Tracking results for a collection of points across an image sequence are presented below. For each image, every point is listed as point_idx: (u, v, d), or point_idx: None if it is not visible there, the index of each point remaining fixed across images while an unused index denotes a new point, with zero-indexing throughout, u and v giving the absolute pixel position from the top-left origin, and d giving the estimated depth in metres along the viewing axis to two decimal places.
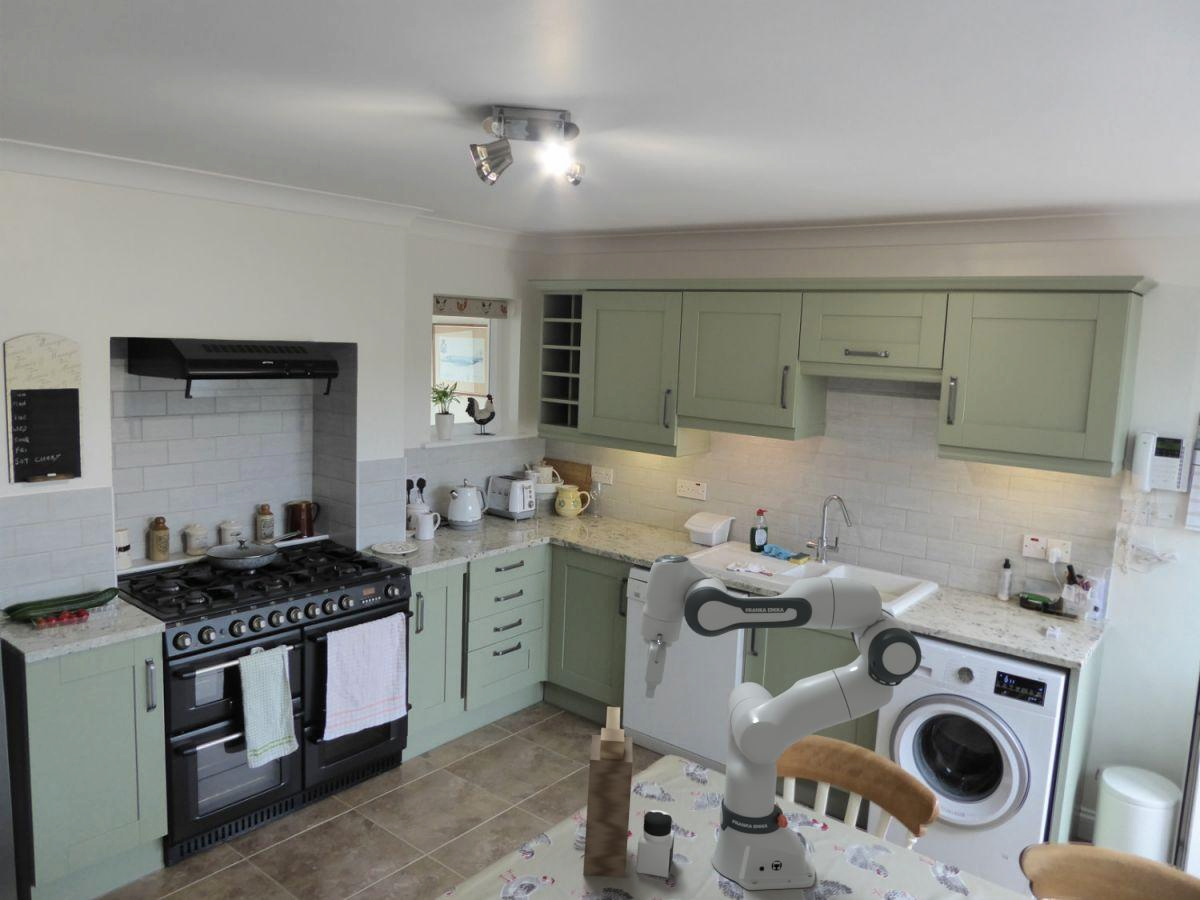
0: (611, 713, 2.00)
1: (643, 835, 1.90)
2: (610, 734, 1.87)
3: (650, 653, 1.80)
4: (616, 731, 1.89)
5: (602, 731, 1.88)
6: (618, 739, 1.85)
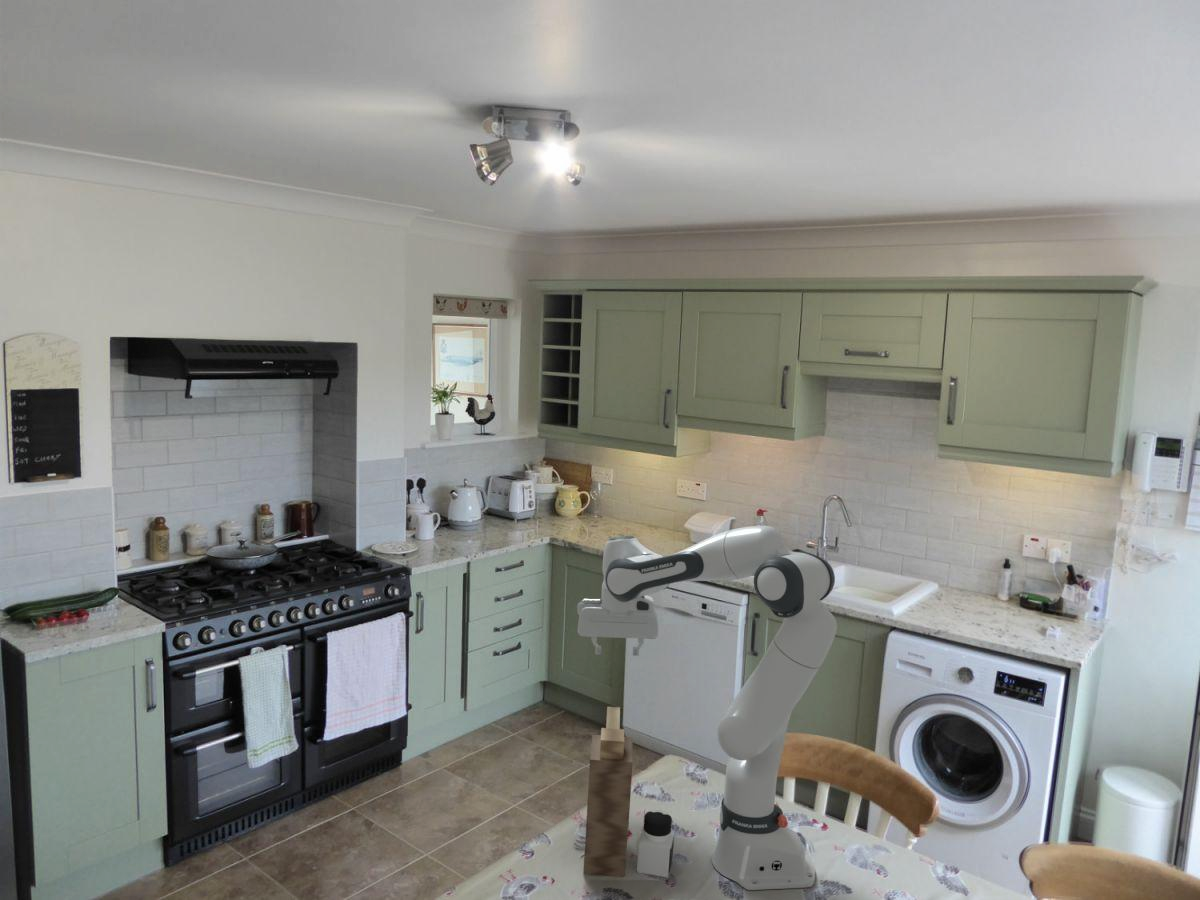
0: (611, 713, 2.00)
1: (643, 835, 1.90)
2: (610, 734, 1.87)
3: None
4: (616, 731, 1.89)
5: (602, 731, 1.88)
6: (618, 739, 1.85)
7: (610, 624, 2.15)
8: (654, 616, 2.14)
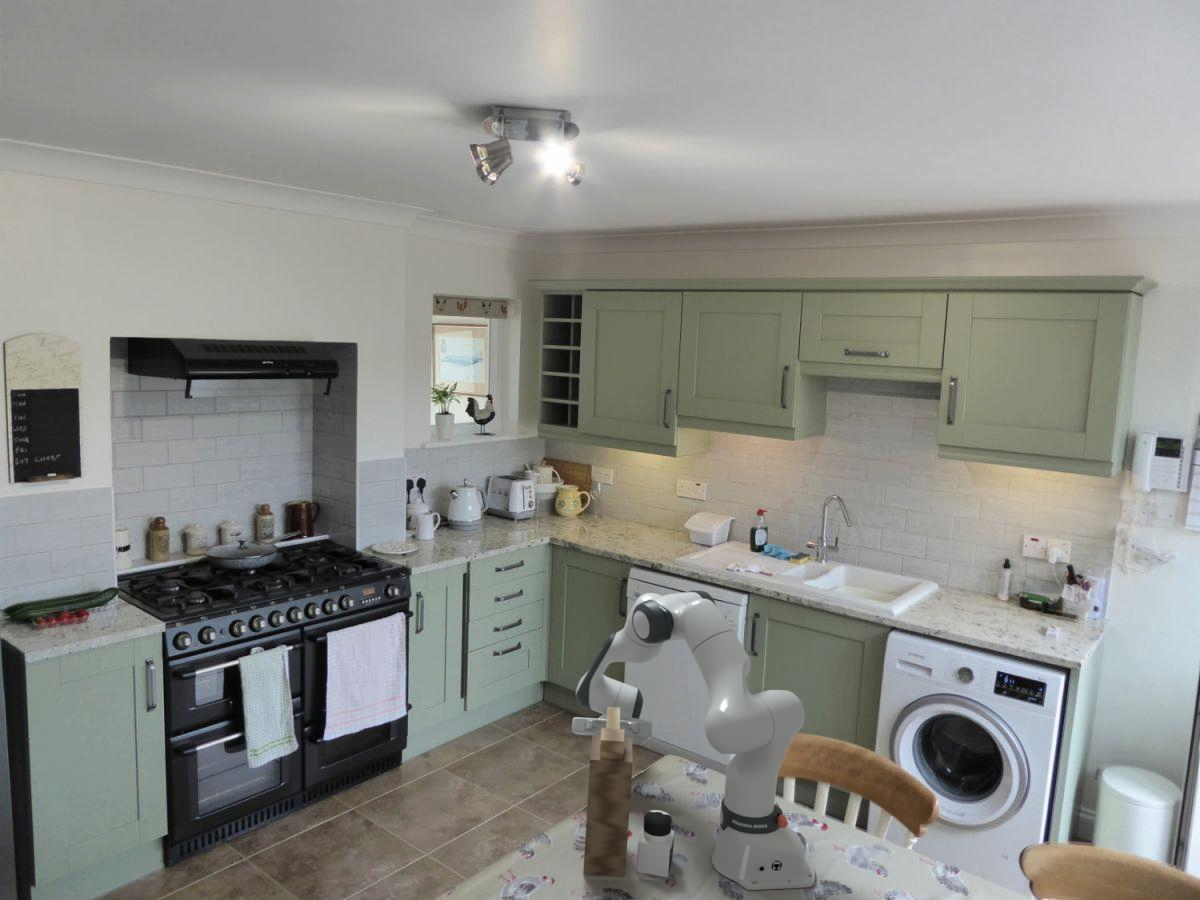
0: (611, 713, 2.00)
1: (643, 835, 1.90)
2: (610, 734, 1.87)
3: None
4: (616, 731, 1.89)
5: (602, 731, 1.88)
6: (618, 739, 1.85)
7: None
8: (646, 721, 2.24)
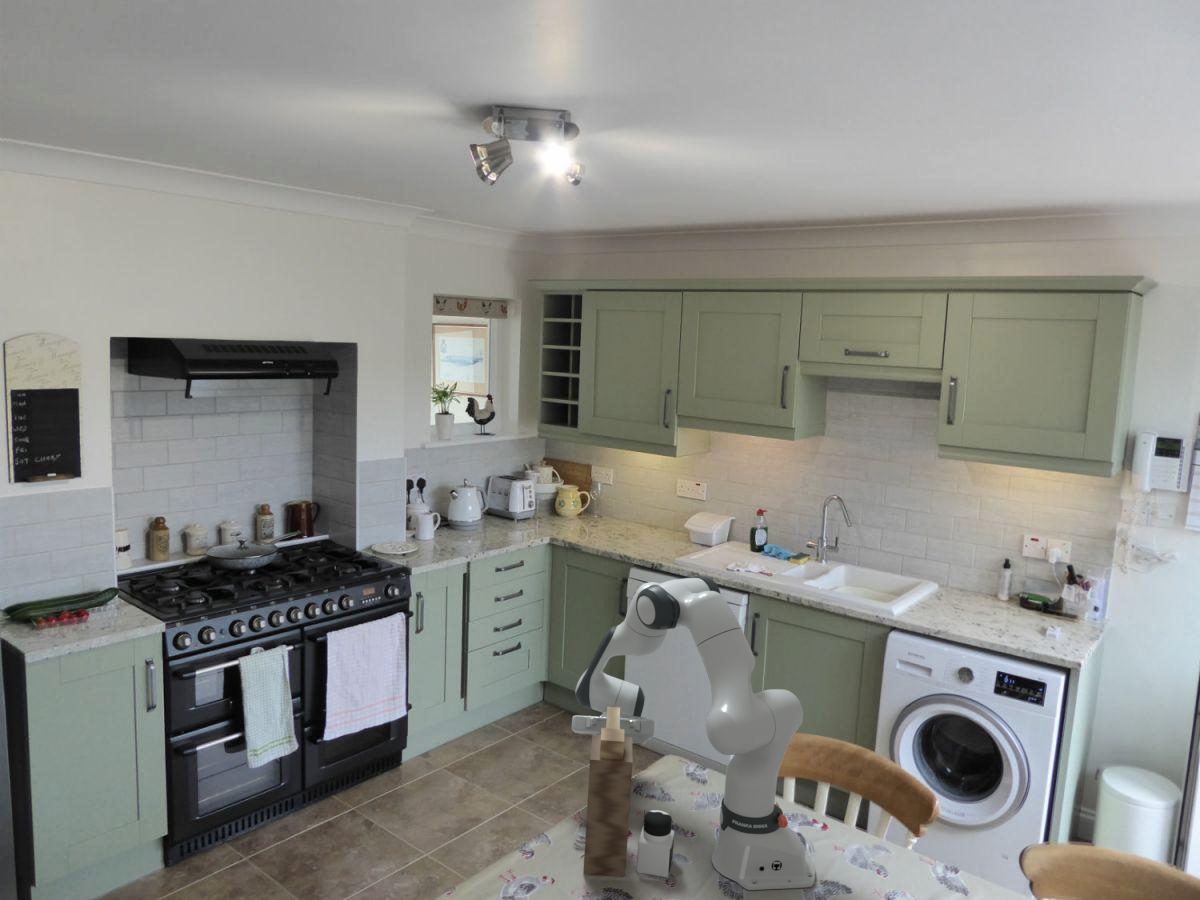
0: (611, 713, 2.00)
1: (643, 835, 1.90)
2: (610, 734, 1.87)
3: None
4: (616, 731, 1.89)
5: (602, 731, 1.88)
6: (618, 739, 1.85)
7: None
8: (648, 719, 2.17)
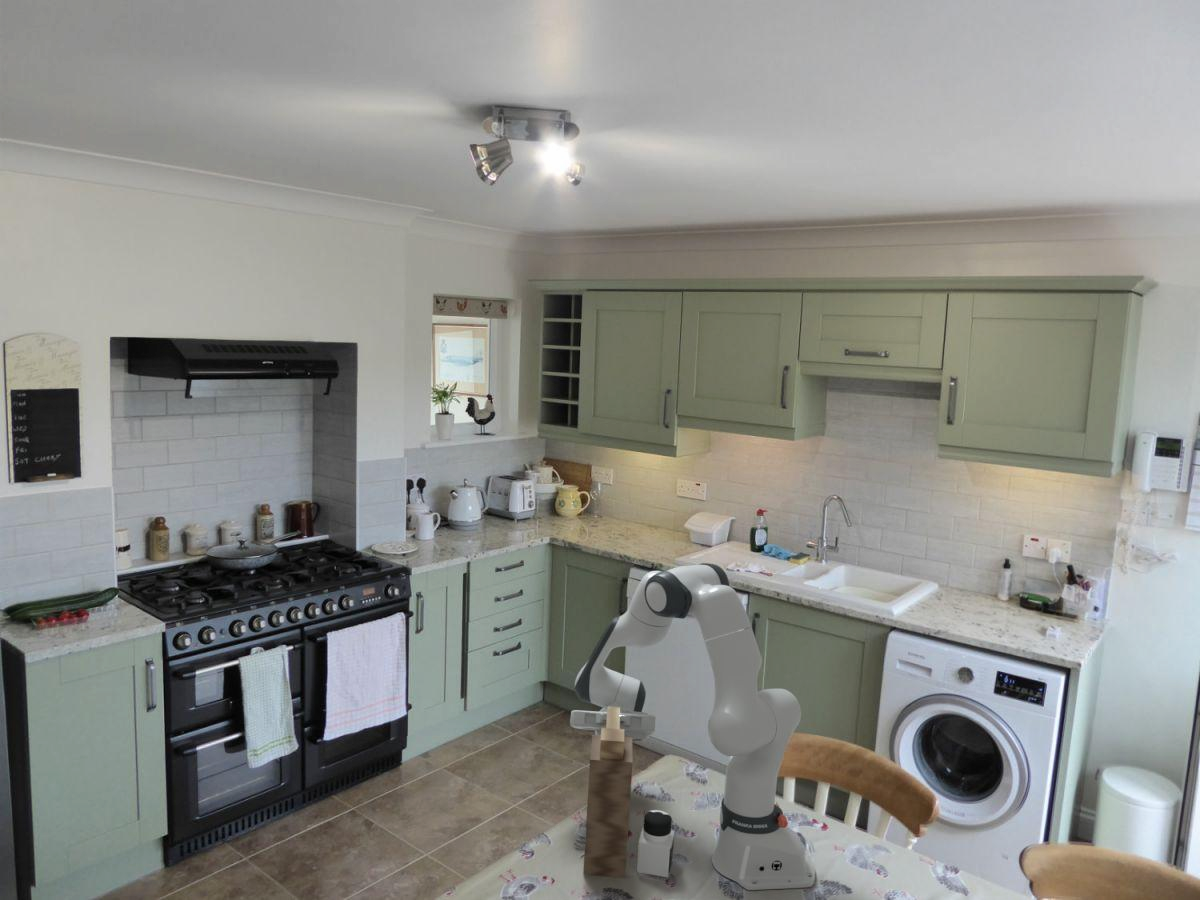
0: (611, 713, 2.00)
1: (643, 835, 1.90)
2: (609, 734, 1.87)
3: None
4: (616, 731, 1.89)
5: (602, 731, 1.88)
6: (617, 739, 1.85)
7: None
8: None
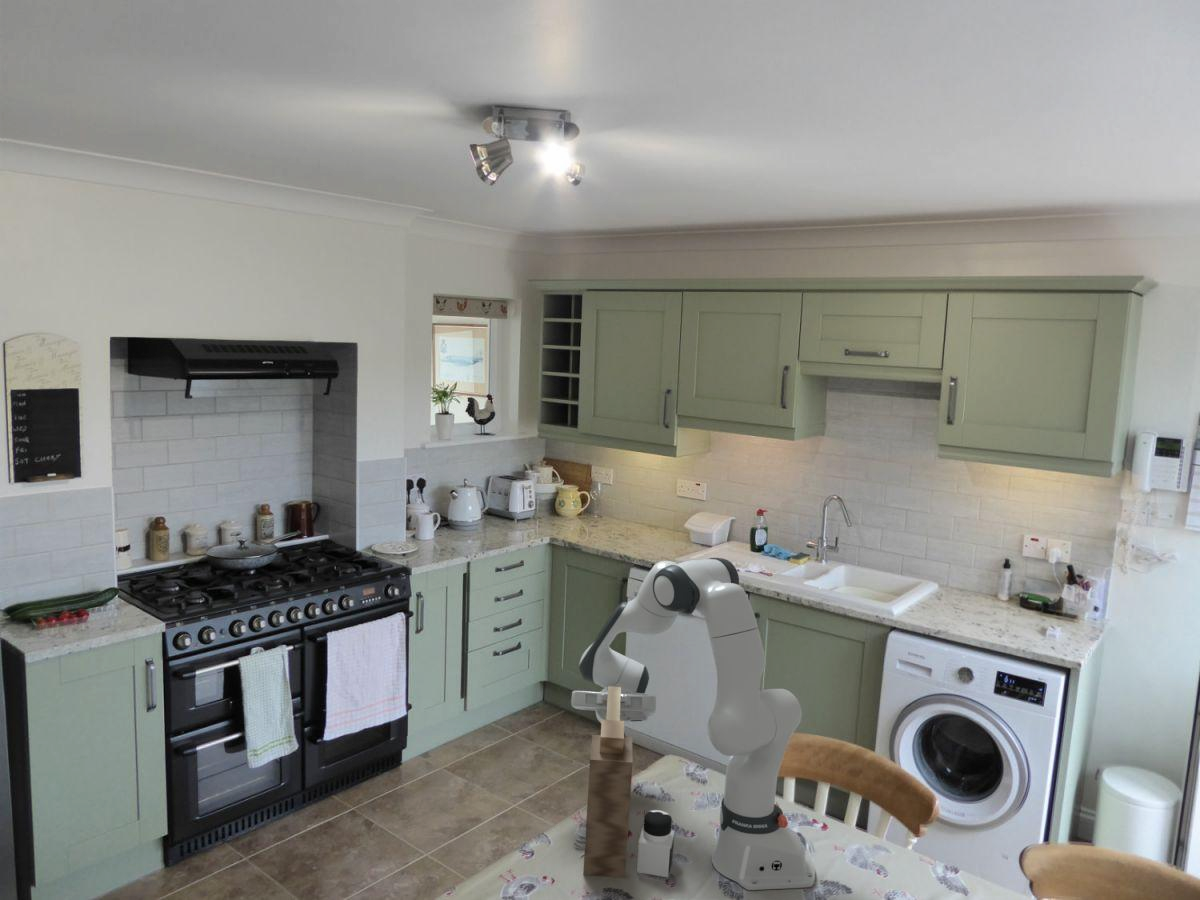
0: (612, 696, 2.01)
1: (643, 835, 1.90)
2: (609, 729, 1.88)
3: None
4: (616, 724, 1.90)
5: (603, 725, 1.90)
6: (617, 736, 1.86)
7: None
8: None
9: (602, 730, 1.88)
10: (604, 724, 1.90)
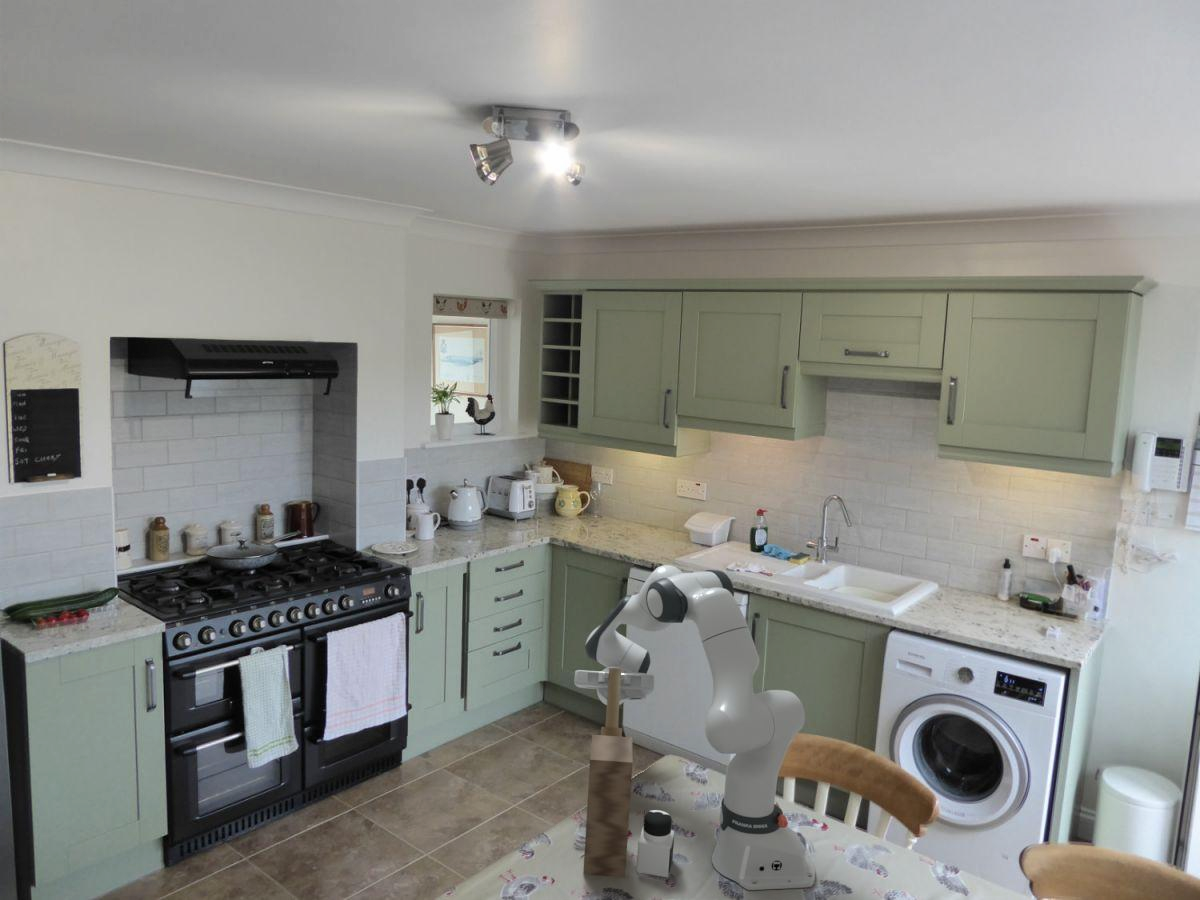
0: (612, 684, 2.14)
1: (643, 835, 1.90)
2: None
3: None
4: (614, 733, 2.09)
5: None
6: None
7: None
8: None
9: None
10: (603, 734, 2.09)
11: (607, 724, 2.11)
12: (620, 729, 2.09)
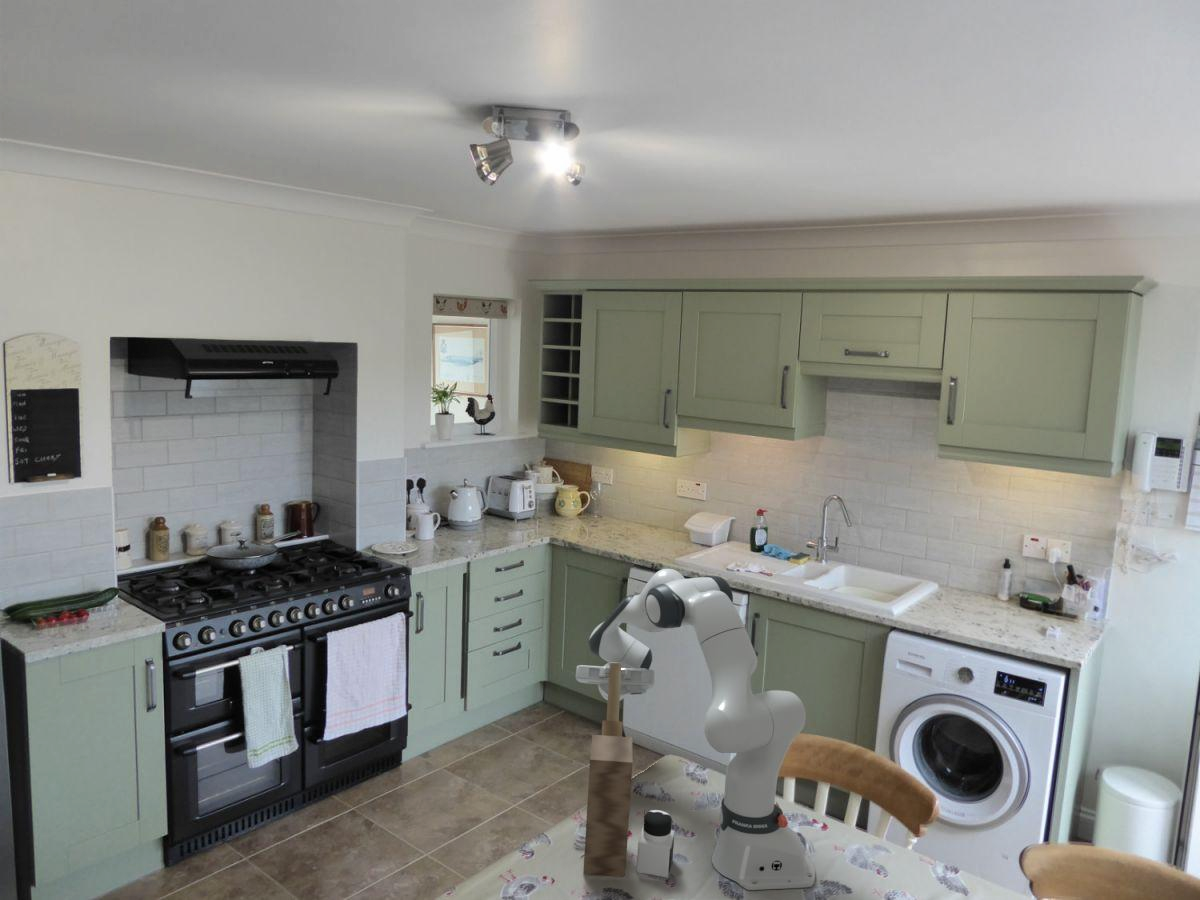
0: (613, 678, 2.18)
1: (643, 835, 1.90)
2: (609, 734, 2.12)
3: None
4: (615, 726, 2.13)
5: (603, 728, 2.13)
6: None
7: None
8: None
9: None
10: (604, 727, 2.13)
11: (608, 718, 2.14)
12: (621, 723, 2.13)
